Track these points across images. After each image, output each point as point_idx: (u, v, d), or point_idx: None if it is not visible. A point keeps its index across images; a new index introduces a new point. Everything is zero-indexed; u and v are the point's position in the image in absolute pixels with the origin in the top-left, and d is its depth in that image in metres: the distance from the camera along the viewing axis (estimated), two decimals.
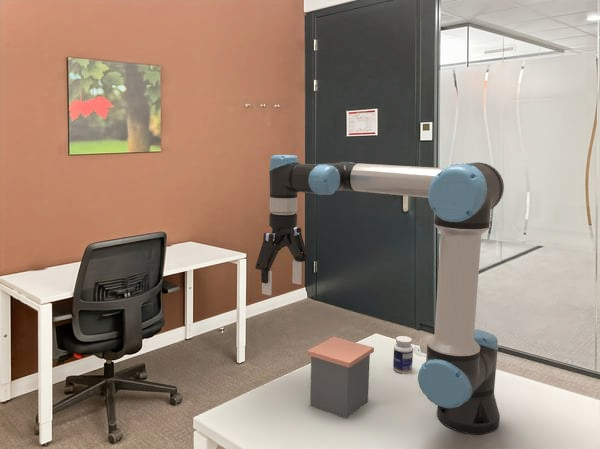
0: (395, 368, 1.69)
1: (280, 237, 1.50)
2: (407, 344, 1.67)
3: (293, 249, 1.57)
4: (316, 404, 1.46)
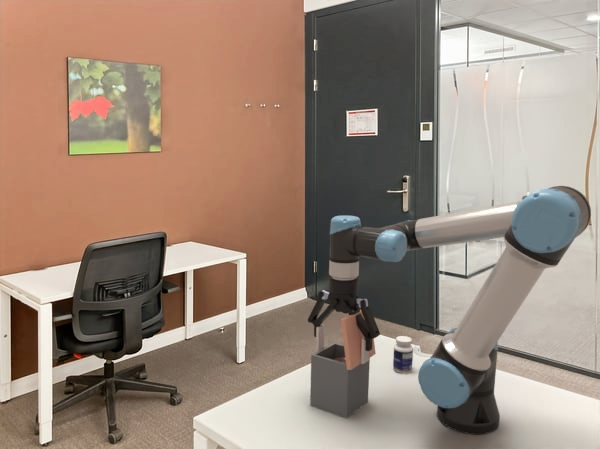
0: (395, 368, 1.69)
1: (332, 299, 1.45)
2: (407, 344, 1.67)
3: None
4: (316, 404, 1.46)
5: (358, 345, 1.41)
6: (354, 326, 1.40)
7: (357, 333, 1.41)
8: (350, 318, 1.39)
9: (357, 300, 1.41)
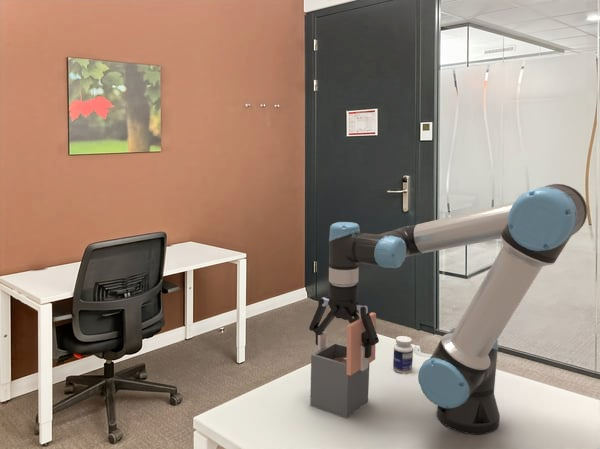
0: (395, 368, 1.69)
1: (332, 306, 1.45)
2: (407, 344, 1.67)
3: None
4: (316, 404, 1.46)
5: (360, 351, 1.41)
6: (359, 332, 1.40)
7: None
8: (356, 325, 1.38)
9: (357, 307, 1.41)
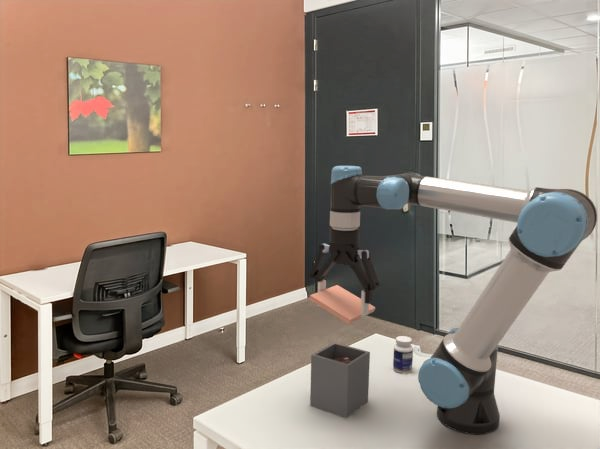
0: (395, 368, 1.69)
1: (333, 251, 1.43)
2: (407, 344, 1.67)
3: None
4: (316, 404, 1.46)
5: (345, 305, 1.42)
6: (327, 296, 1.44)
7: (336, 299, 1.44)
8: (317, 293, 1.44)
9: (358, 251, 1.39)
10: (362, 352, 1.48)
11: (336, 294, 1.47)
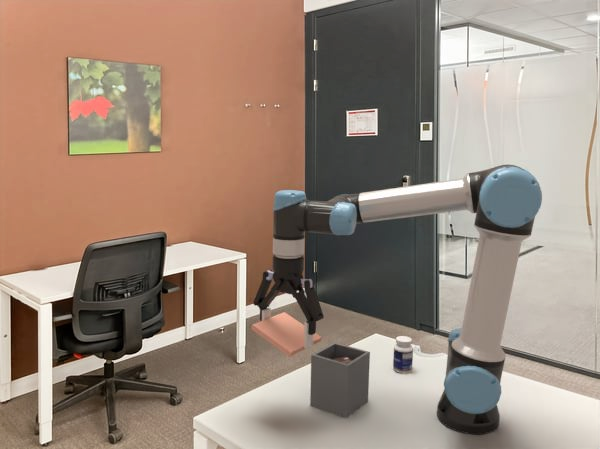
0: (395, 368, 1.69)
1: (276, 279, 1.36)
2: (407, 344, 1.67)
3: None
4: (316, 404, 1.46)
5: (288, 336, 1.36)
6: (271, 326, 1.38)
7: (279, 329, 1.38)
8: (260, 322, 1.38)
9: (301, 280, 1.33)
10: (362, 352, 1.48)
11: (281, 323, 1.41)
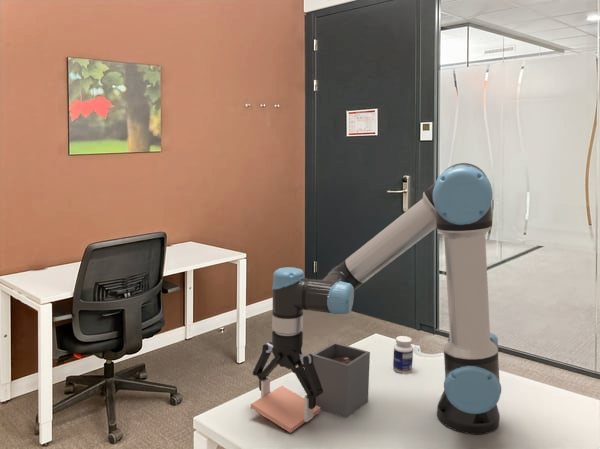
0: (395, 368, 1.69)
1: (276, 353, 1.40)
2: (407, 344, 1.67)
3: None
4: (316, 404, 1.46)
5: (287, 411, 1.39)
6: (269, 402, 1.41)
7: (278, 405, 1.41)
8: (259, 400, 1.41)
9: (300, 356, 1.36)
10: (362, 352, 1.48)
11: (279, 398, 1.44)
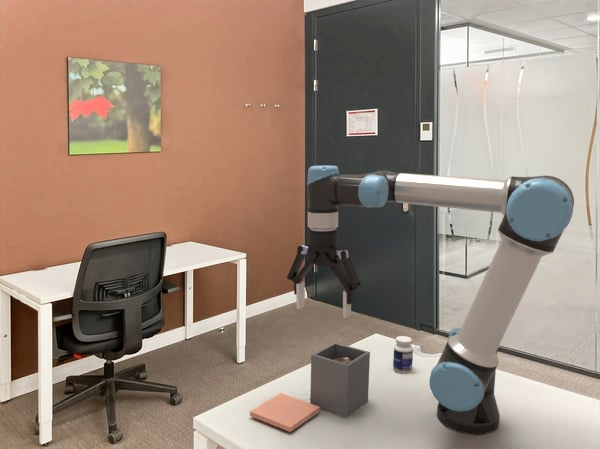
0: (395, 368, 1.69)
1: (312, 253, 1.40)
2: (407, 344, 1.67)
3: None
4: (316, 404, 1.46)
5: (286, 413, 1.39)
6: (268, 408, 1.42)
7: (277, 409, 1.41)
8: (257, 407, 1.42)
9: (337, 252, 1.36)
10: (362, 352, 1.48)
11: (278, 403, 1.44)
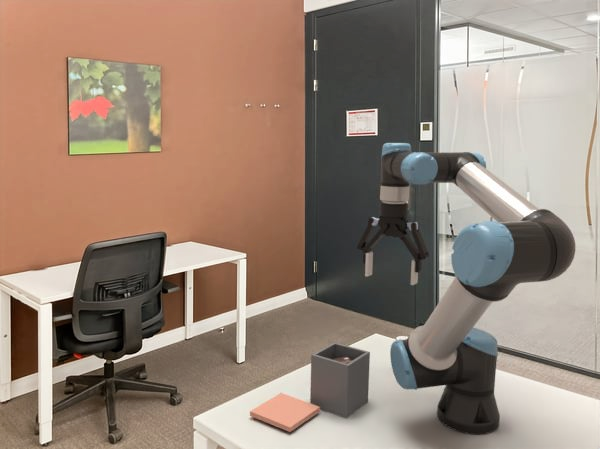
0: None
1: (382, 224, 1.50)
2: None
3: None
4: (316, 404, 1.46)
5: (286, 413, 1.39)
6: (268, 408, 1.42)
7: (277, 409, 1.41)
8: (257, 407, 1.42)
9: (407, 223, 1.47)
10: (362, 352, 1.48)
11: (278, 403, 1.44)
